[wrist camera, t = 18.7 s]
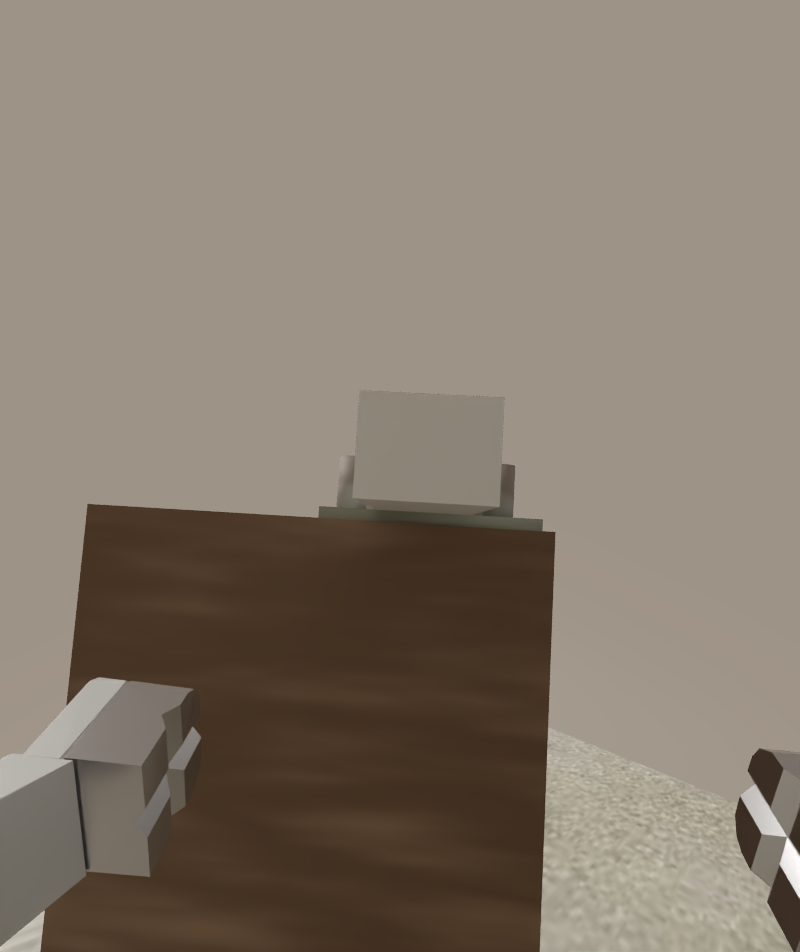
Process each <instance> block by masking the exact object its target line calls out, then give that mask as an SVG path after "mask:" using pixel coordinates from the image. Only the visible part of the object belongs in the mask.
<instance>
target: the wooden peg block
mask: <svg viewBox="0 0 800 952" xmlns="http://www.w3.org/2000/svg"><path fill="white" fill-rule="evenodd" d="M354 465H355V456H340V466H339V480H338V496H337V507H322V506H320V507H319V518H311V517H294V516H278V515H260V514H245V513H244V514H243V513H228V512H211V511H194V510H177V509H160V508H144V507H128V506H110V505H93V504H88V507H87V516H86V525H85V535H84V544H83V554H82V563H81V573H80V582H79V592H78V601H77V611H76V620H75V630H74V639H73V649H72V659H71V668H70V677H69V687H68V696H67V705H68V704H69V703H70V702H71V701H72V700H73V698H74V697H75V696H76V695H77V694H78V693H79V692H80V691H81V690H82V689H83V687H84V686H85V685H86V684H87V683H88V682H89V681H91V680H93V679H96V678H98V677H100V678H109V679H117V680H125V681H129V682H130V681H137V682H144V683H152V684H160V685H168V686H175V687H183V688H191V689H195V690H196V691H197V692H198V693H199V701H200V714H199V716H198V718H197V719H196V721H195V723H194V725H193V727H194V729H195V730H196V731H197V733H198V734H199V735H200V736H201V746H202V752H201V761H200V769H199V772H198V776H197V779H196V782H195V786H194V789H193V791H192V793H191V796H190V798H189V800H188V802H187V804H186V806H185V807H183V808H182V809H181V810H179V811H178V812H176V813H175V814H173V815H172V816H171V821H172V834H171V836H170V838H169V840H168V842H167V844H166V846H165V848H164V850H163V852H162V854H161V856H160V858H159V860H158V862H157V864H156V866H155V868H154V870H153V872H152V874H151V876H150V877H146V876H134V875H123V874H111V873H99V872H88V871H86V876H85V877H84V878H83V879H81V880H80V881H79V882H78V883H77V884H75V885H74V886H73V887H72V888H70V889H69V890H68V891H67V892H66V893H64V894H63V895H62V896H61V897H60V898H58V899H57V900H56V901H55V902H53V903H52V904H51V905H50V906H49V907H47V908H46V909H45V915H44V924H43V934H42V943H41V952H540V926H541V899H542V873H543V846H544V819H545V793H546V766H547V740H548V712H549V686H550V659H551V631H552V606H553V605H552V604H553V580H554V578H553V577H554V553H555V532H545V531H542V526H543V525H542V524H543V520H542V519H524V518H513V503H514V481H515V466H514V465H508V464H502V466H501V488H500V507H497V508H494V509H491V510H487V511H484V512H481V513H478V514H474V515H458V514H441V513H424V512H407V511H390V510H377V509H375V508H373V507H371V506H368V505H366V504H364V503H362V502H360V501H357V500H355V499H353V498H352V495H353V480H354Z"/></svg>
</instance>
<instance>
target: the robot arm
mask: <svg viewBox="0 0 800 952" xmlns="http://www.w3.org/2000/svg"><path fill="white" fill-rule="evenodd" d="M199 714H200V701H199V693H198V692H197V691H196V690H195V689H191V688H183V687H175V686H168V685H160V684H152V683H144V682H137V681H130V682H129V681H125V680H117V679H109V678H100V677H98V678H96V679H93V680H91V681H89V682H88V683H87V684H86V685H85V686H84V687H83V689H82V690H81V691H80V692H79V693H78V694H77V695H76V696H75V697H74V698H73V700H72V701H71V702H70V703H69V704H68V705H67V706H66V707H65V708H64V709H63V711H62V712H61V713H60V714H59V715H58V716H57V717H56V718H55V719H54V721H53V722H52V723H51V724H50V725H49V726H48V727H47V728H46V729H45V731H44V732H43V733H42V734H41V735H40V736H39V737H38V738H37V739H36V741H35V742H34V743H33V744H32V745H31V746H30V747H29V748H28V749H27V750H26V752H25V753H24V754H23V755H21V754H10V755H8V756H6V757H4V758H2V759H0V946H1V945H3V944H4V943H5V942H6V941H7V940H9V939H10V938H11V937H12V936H13V935H15V934H16V933H17V932H18V931H19V930H21V929H22V928H23V927H24V926H26V925H27V924H28V923H29V922H30V921H32V920H33V919H34V918H35V917H36V916H38V915H39V914H40V913H41V912H43V911H44V910H45V909H46V908H47V907H49V906H50V905H51V904H52V903H53V902H55V901H56V900H57V899H58V898H60V897H61V896H62V895H63V894H64V893H66V892H67V891H68V890H69V889H70V888H72V887H73V886H74V885H75V884H77V883H78V882H79V881H80V880H81V879H83V878H84V877H85V876H86V871H88V872H99V873H111V874H123V875H134V876H146V877H150V876H151V874H152V872H153V870H154V868H155V866H156V864H157V862H158V860H159V858H160V856H161V854H162V852H163V850H164V848H165V846H166V844H167V842H168V840H169V838H170V836H171V834H172V821H171V816H172V815H173V814H175V813H176V812H178V811H179V810H181V809H182V808H183V807H185V806H186V804H187V802H188V800H189V798H190V796H191V793H192V791H193V789H194V786H195V782H196V779H197V776H198V772H199V769H200V761H201V752H202V746H201V736H200V735H199V734H198V733H197V731H196V730H195V729H194V727H193V725H194V723H195V721H196V719H197V718H198V716H199ZM748 772H749V774H750V776H751V778H752V780H753V782H754V783H755V785H753V786H752V787H751V788H749V789H748V790H747V791H745V792H744V793H743V794H742V795H740V798H739V802H738V806H737V810H736V814H735V819H736V833H737V839H738V842H739V845H740V848H741V852H742V854H743V856H744V858H745V860H746V862H747V864H748V866H749V868H750V870H751V871H752V872H753V873H754V874H756V875H757V876H758V877H759V878H760V879H761V880H763V881H764V882H765V883H766V884H767V885H769V886H770V887H771V888H770V892H769V897H768V901H767V902H768V904H769V906H770V908H771V910H772V912H773V914H774V916H775V918H776V919H777V921H778V923H779V925H780V927H781V929H782V931H783V933H784V934H785V936H786V938H787V940H788V942H789V944H790V946H791V948H792V950H793V951H794V952H800V752H790V751H780V750H770V749H759V750H758V751H757V752H756V753H755V754H754V755H753V756H752V759H751V762H750V765H749V768H748Z"/></svg>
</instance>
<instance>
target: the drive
mask: <svg viewBox="0 0 800 952" xmlns="http://www.w3.org/2000/svg"><path fill="white" fill-rule="evenodd" d="M504 400H505V398H504V397H485V396H465V395H445V394H426V393H406V392H387V391H367V390H360V391H359V405H358V420H357V436H356V450H355V465H354V480H353V495H352V498H353V499H355V500H357V501H360V502H362V503H364V504H366V505H368V506H371V507H373V508H375V509H377V510H390V511H407V512H424V513H441V514H458V515H474V514H478V513H481V512H484V511H487V510H491V509H494V508H497V507H500V488H501V466H502V442H503V421H504V420H503V419H504Z"/></svg>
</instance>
